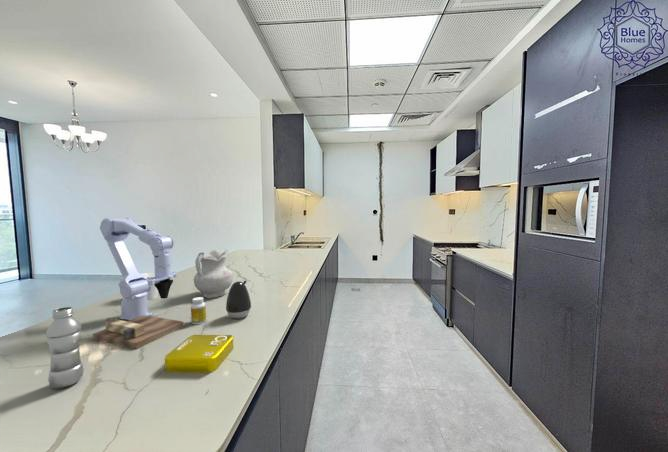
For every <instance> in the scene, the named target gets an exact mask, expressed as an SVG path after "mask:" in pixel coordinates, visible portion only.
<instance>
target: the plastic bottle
mask: <svg viewBox="0 0 668 452" xmlns="http://www.w3.org/2000/svg"><path fill="white" fill-rule="evenodd" d="M73 315H74V310H73V307H72V306H64V307H60V308H55V309H54V310H52V320H53V321H52V322H51V323H50V324H49V325H48V328H47V330H46V331H45V336H46V340H47V344H48V347H49V353H50V354H49V355H50V363H49V365H50V366H49V372H48V377H47V380H48V381H47V382H48V384H49V386H50V387H51V388H53V389H62V388H67V387H69V386H72V385H75V384H76V383H78V382H79V381H80V380H81V379H82V377H83V375H84V370H85V368H84V365H83V362H82V359H81V358H82V357H81V352H80V339H81V332H82V324H81V322H80V321H79V320H78V319H77V318H75V317H74V316H73Z"/></svg>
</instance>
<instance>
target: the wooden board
mask: <svg viewBox="0 0 668 452" xmlns="http://www.w3.org/2000/svg"><path fill="white" fill-rule="evenodd" d="M126 321H127V322H131V323H136V324H141V325H144V330H145V334H142V335H140V336H137V337H134V329H132V328H128V329H126V330H123V334H120V333H116V332H112V331H107V330H106V328H104V329H102V330H100V331H97V332H94V333H92V337H93V338H92V339H93V340H95V341H100V342H105V343H109V344H113V345H117V344H118V345H117V346H121V345H123V347H127V348H130V349H131V348H132V349H134V350H138V349H140V348H142V347H143V346H146V345H149V344H150V343H152V342H154V341H156V340H159V339H161V338H163V337H165V336H167V335H170V334H171V333H173V332H176V331H177V330H180V329H182V328H183V327H185V326H184V321H182V320H175V319H169V318H163V317H157V316H151V315H149V316H147V315H142V316H140V317H137V318H134V319H131V320H126Z"/></svg>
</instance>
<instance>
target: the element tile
mask: <svg viewBox="0 0 668 452" xmlns="http://www.w3.org/2000/svg"><path fill="white" fill-rule="evenodd" d="M233 350H234V336H233V335H230V334H192V335H190V336H188V337H187V338H186V339H185V340H183V341H182V342H181V343H180V344H178V345H177V346H175V348H174V349H172V350H171V351H170V352H169V353H167V354H166V355H165V356H164V371H165V372H166V373H187V374H188V373H197V374H201V373H204V374H208V373H209V374H210V373H212V372H215V371H217V369H219V367H220V366H221V365H222V364H223V362H224V361H225V360H226V359H227V358H228V357H229V355H230V354H231V352H232V351H233Z"/></svg>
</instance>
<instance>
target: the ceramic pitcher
mask: <svg viewBox="0 0 668 452" xmlns="http://www.w3.org/2000/svg"><path fill="white" fill-rule="evenodd" d="M228 250H229V249H224V251H221V250H217V249H213V250H211V251H210V252H209V253H208V254H205V252H202V251H201V252H199V253H198V254H197V256H196V259H195V261H194V262H195V269H196V274H194V278H193V284H194V286H195V288H196V289H197V291H199V292H201V293H203V294H202V297H203V298H204V297H205V299H207V298H208V299H214V298H219V296H220V297H223V296H224V295H226V294H227V293H226V292H225V291H227V290H228V289H230V288H231V286H232V284H233V280H234V274H233V272H232V271H231V270H230V269H229V268H227V267H226V264H225V263H226V262H225V261H226V259H227V256H228V253H229V252H228Z"/></svg>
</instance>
